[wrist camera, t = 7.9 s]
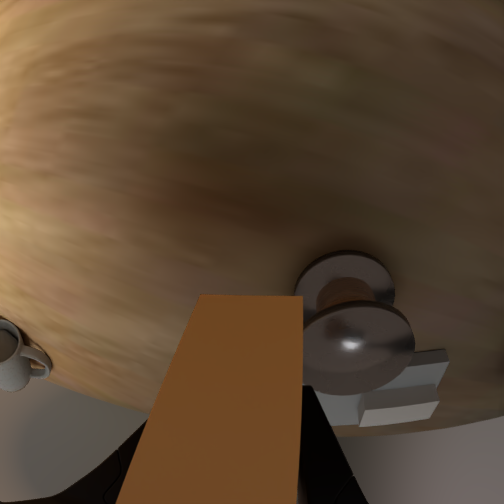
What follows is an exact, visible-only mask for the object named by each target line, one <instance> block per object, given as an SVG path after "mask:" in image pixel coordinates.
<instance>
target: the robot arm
mask: <svg viewBox="0 0 504 504" xmlns="http://www.w3.org/2000/svg"><path fill="white" fill-rule="evenodd" d="M147 420H148V419H147ZM147 420H146V421H145V422H144V423H143V424H142V425H141V426H140V427H139V428H138V429H137V430H136V431H135V432H134V433H133V434H132V435H131V436H130V437H129V438H128V439H127V440H126V441H125V442H124V443H123V444H122V445H121V446H120V447H119V448H118V450H115V451H114V452H113V453H112V454H111V455H110V456H109V457H108V458H107V459H106V460H104V461H103V462H102V463H101V464H100V465H99V466H97V467H96V468H95V469H94V470H92V471H91V472H90V473H88V474H87V475H86V476H84V477H83V478H81V479H80V480H79V481H77V482H76V483H74V484H73V485H71V486H70V487H68V488H67V489H66V490H64V491H62V492H60V493H58V494H56V495H54V496H51V497H46V498H40V499H32V500H24V501H15V502H1V501H0V504H116V501H117V499H118V496H119V493H120V491H121V488H122V485H123V482H124V480H125V477H126V474H127V472H128V469H129V466H130V464H131V461H132V459H133V456H134V453H135V451H136V448H137V446H138V443H139V441H140V438H141V435H142V433H143V430H144V428H145V425H146V423H147ZM297 490H298V504H369V503H368V502H367V500H366V498H365V496H364V495H363V493H362V491H361V489H360V487H359V485H358V483H357V480H356V478H355V477H354V476H353V472H352V470H351V468H350V466H349V464H348V462H347V459H346V457H345V455H344V453H343V451H342V449H341V447H340V444H339V442H338V440H337V438H336V436H335V434H334V432H333V429H332V427H331V425H330V423H329V421H328V419H327V417H326V414H325V412H324V410H323V408H322V406H321V404H320V402H319V399H318V397H317V395H316V393H315V391H314V389H313V387H312V386H311V385H302V411H301V435H300V454H299V470H298V485H297Z"/></svg>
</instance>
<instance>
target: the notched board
mask: <svg viewBox="0 0 504 504" xmlns="http://www.w3.org/2000/svg"><path fill="white" fill-rule="evenodd" d="M449 362H450V361H449V358H448V356H447V353H446V351H445V349H443V350H435V351H427V352H418V353H414V354H413V356H412V359H411V361H410V362H409V364H408V366H407V367H406V368H405V369H404V371H403V372H402V373H401V374H400V375H399V376H397V377H396V378H395V379H394V380H392V381H391V382H389V383H387V384H386V385H384V386H382V387H380V388H377V389H375V390H372V391H369V392H366V393H362V394H356V395H347V396H338V395H329V394H324V393H320V392H317V391H315V390H314V391H315V393H316V395H317V397H318V399H319V402H320V404H321V406H322V408H323V410H324V412H325V414H326V417H327V419H328V421H329V423H330V425H331V426H334V425H353V424H359V427H365V426H376V425H386V424H394V423H402V422H409V421H416V420H422V419H428V418H430V416H431V414H432V413H433V411H434V409H435V408H436V406H437V404H438V403H439V401H440V400H439V397H438V393H437V390H436V388H437V386H438V384H439V382H440V380H441V378H442V376H443V374H444V372H445V370H446V368H447V366H448V364H449ZM302 385H304V384H303V383H302Z"/></svg>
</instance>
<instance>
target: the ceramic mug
mask: <svg viewBox="0 0 504 504" xmlns="http://www.w3.org/2000/svg"><path fill="white" fill-rule="evenodd" d="M29 358H32V359H34V360H36V361H38V362H40V363H42V364H44V365H45V369H33V368H31V364H30V361H29ZM50 371H51V361H50V359H49V357H48V356H46V354H44V353H43V352H41V351H40V350H38V349H35V348H32V347H29V346H25V345H24V343H23V340H22V337H21V334H20V332H19V330H18V328H17V327H16V326H15V325H14V324H13V323H11V322H10V321H8V320H4V319H0V388H1V389H3V390H5V391H7V392H16V391H19V390H21V389H23V388H24V387H25V386H26V385H27V384H28V382H29V380H30V378H38V379H41V378H46V377H48V376H49V375H50Z"/></svg>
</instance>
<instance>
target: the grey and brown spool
mask: <svg viewBox="0 0 504 504" xmlns="http://www.w3.org/2000/svg"><path fill="white" fill-rule="evenodd" d="M294 296H303V377H302V383H303V384H304V385H311V386H312V387H313V389H314V390H315V391H317V392H320V393H324V394H329V395H338V396H347V395H356V394H362V393H366V392H369V391H372V390H375V389H377V388H380V387H382V386H384V385H386V384H387V383H389V382H391V381H392V380H394V379H395V378H396V377H397V376H399V375H400V374H401V373H402V372H403V371H404V369H405V368H406V367H407V366H408V364H409V362H410V361H411V359H412V356H413V354H414V350H415V338H414V335H413V332H412V329H411V327H410V324H409V322H408V320H407V318H406V317H405V316H404V315H403V314H402V313H401V312H400V311H399V310H398V309H396V308H394V307H392V306H393V302H394V297H395V289H394V284H393V281H392V279H391V276H390V274H389V272H388V270H387V269H386V267H385V266H384V265H383V263H381V262H380V261H379V260H378V259H376V258H375V257H373V256H371V255H369V254H367V253H364V252H360V251H352V250H345V251H337V252H332V253H329V254H326V255H324V256H322V257H320V258H318V259H316V260H315V261H313V262H312V263H311V264H310V265H308V266H307V267H306V268H305V269H304V271H303V272H302V273H301V275H300V276H299V278H298V280H297V283H296V285H295V290H294Z"/></svg>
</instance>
